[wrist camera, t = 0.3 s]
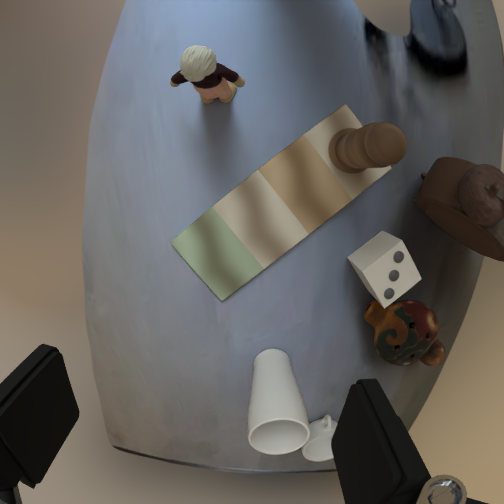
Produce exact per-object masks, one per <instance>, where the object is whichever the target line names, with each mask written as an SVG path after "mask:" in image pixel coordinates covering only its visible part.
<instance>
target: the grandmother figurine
mask: <svg viewBox="0 0 504 504" xmlns="http://www.w3.org/2000/svg"><path fill="white" fill-rule="evenodd" d="M180 68H181V70H180V71H178V72H177V73H176V74H174V75H173V76H172V78H171V81H170V84H171V86H173V87H177V86H178V85H179V84H181V83H184V82H188V81H190V82H191V83H192V84H193V86H194V88H195V89H196V91H197V92H199V94H200V96H201V100H202V102H203V103H205V104H209V103H212V102H213V101H214V98H217V97H219V100H220V101H221V102H224V103H229V102H230V101H231V100H232V98H233V96H234V94H235V92H236V86H237V87H243V86H244V84H245V81H244V79H242V78H241V77H240V76H239V75H238V74H237V73H236V72H234V71H232V70H230V69H228V68H227V67H225V66H224V65H222V64H219V63H217V61H216V55H215V54H214V52H213V51H212V50H211V49H209V48H208V47H206V46H196V45H193V46H190V47H188V48H187V49H186V50H185V52H184V53H183V55H182V56H181V59H180ZM227 80H228V81H230V82H232V83H230V82H227ZM234 84H235V85H236V86H235V85H234Z"/></svg>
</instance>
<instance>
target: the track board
mask: <svg viewBox="0 0 504 504" xmlns="http://www.w3.org/2000/svg"><path fill="white" fill-rule="evenodd" d="M361 127H363V126H362V124H361V123H360V121H359V120H358V119H357V118H356V116H355V115H354V114H353V112H352V111H351V110H350V108H349V107H348V106H347V105H346V104H345V105H344V106H342V107H341V108H339V109H338V110H336V111H335V112H334V113H332V114H331V115H329V116H328V117H327V118H325V119H324V120H323V121H321V122H320V123H318V124H317V125H316V126H314V127H313V128H312V129H310V130H309V131H308V132H306V133H305V134H303V135H302V136H301V137H299V138H298V139H297V140H295V141H294V142H293V143H292V144H290V145H289V146H288V147H286V148H285V149H284V150H282V151H281V152H280V153H278V154H277V155H276V156H275V157H273V158H272V159H271V160H269V161H268V162H267V163H266V164H264V165H263V166H262V167H260V168H259V169H258V170H257V171H255V172H254V173H253V174H252V175H250V176H249V177H248V178H247V179H245V180H244V181H243V182H242V183H240V184H239V185H238V186H237V187H235V188H234V189H233V190H232V191H231V192H229V193H228V194H227V195H226V196H225V197H223V198H222V199H221V200H220V201H218V202H217V203H216V204H215V205H214V206H212V207H211V208H210V209H209V210H208V211H207V212H205V213H204V214H203V215H202V216H201V217H199V218H198V219H197V220H196V221H195V222H194V223H192V224H191V225H190V226H189V227H188V228H187V229H186V230H184V231H183V232H182V233H181V234H180V235H179V236H178V237H176V238H175V239H174V240H173V241H172V242H171V244H172V245H173V247H174V248H175V249H176V250H177V251H178V252H179V254H180V255H181V256H182V257H183V258H184V259H185V260H186V262H187V263H188V264H189V265H190V266H191V267H192V268H193V270H194V271H195V272H196V273H197V274H198V275H199V276H200V278H201V279H202V280H203V281H204V282H205V283H206V284H207V285H208V286H209V288H210V289H211V290H212V291H213V292H214V293H215V294H216V295H217V296H218V298H219V299H220V300H221V301H223V300H224V299H225V298H227V297H228V296H229V295H231V294H232V293H233V292H235V291H236V290H237V289H239V288H240V287H241V286H243V285H244V284H245V283H247V282H248V281H249V280H250V279H252V278H253V277H254V276H256V275H257V274H258V273H260V272H261V271H262V270H264V269H265V268H266V267H267V266H269V265H270V264H271V263H273V262H274V261H275V260H277V259H278V258H279V257H280V256H282V255H283V254H284V253H286V252H287V251H288V250H289V249H291V248H292V247H293V246H295V245H296V244H297V243H298V242H300V241H301V240H302V239H304V238H305V237H306V236H307V235H309V234H310V233H311V232H313V231H314V230H315V229H316V228H318V227H319V226H320V225H321V224H323V223H324V222H325V221H327V220H328V219H329V218H330V217H332V216H333V215H334V214H335V213H337V212H338V211H339V210H340V209H342V208H343V207H344V206H345V205H347V204H348V203H349V202H351V201H352V200H353V199H354V198H356V197H357V196H358V195H359V194H361V193H362V192H363V191H364V190H365V189H367V188H368V187H369V186H370V185H372V184H373V183H374V182H375V181H377V180H378V179H379V178H380V177H382V176H383V175H384V174H385V173H387V172H388V171H389V170H390V169H391V166H388V167H384V168H367V169H366V170H364V171H362V172H360V173H345V172H342V171H341V170H339V169H338V168H336V167H335V165H334V164H333V163H332V161H331V159H330V157H329V151H328V147H329V143H330V140H331V138H332V137H333V136H334V134H336V133H337V132H338V131H340V130H343V129H346V128H355V129H358V128H361Z"/></svg>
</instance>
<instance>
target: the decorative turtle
mask: <svg viewBox="0 0 504 504" xmlns="http://www.w3.org/2000/svg"><path fill="white" fill-rule="evenodd" d="M363 316H364V319H365V320H366V321H367V322H368V323H369V324H371V325H372V326H373V327H374V330H375V333H374V345H375V348H376V351H377V353H378V354H379V355H380V356H381V357H382V358H383V359H384V360H385V361H387V362H389V363H391V364H395V365H399V366H404V365H410V364H412V363H414V362H415V361H417V360H418V359H420V360H421V361H422V362H423V363H424V364H426V365H428V366H438V365H440V364H441V363H442V362H443V361H444V359H445V348H444V346H443V344H442V343H441V342H440V341H439V340H438V339H437V338H436V336H437V334H438V331H439V323H438V319H437V317H436V315H435V313H434V312H433V311H432V310H431V309H430V308H429V307H428V306H427V305H425V304H424V303H421V302H418V301H415V300H402V301H399V302H396V303H393V304H390V305H389V306H387V307H386V308H385V309H384V307H383V306H382V305H381V304H380V303H379V302H378V301H377V300H373V301H371V302H370V303H369V304H368V305H367V306H366V308H365V310H364V312H363Z"/></svg>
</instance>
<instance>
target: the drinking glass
mask: <svg viewBox="0 0 504 504" xmlns="http://www.w3.org/2000/svg"><path fill="white" fill-rule="evenodd" d="M247 425H248V441H249V443H250V445H251V446H252V447H253V448H254V449H256V450H257V451H260V452H262V453H266V454H272V455H279V454H286V453H290V452H293V451H295V450H297V449H299V448H301V447H302V446H303V445H304V444H305V443H306V442H307V441H308V439H309V437H310V430H309V422H308V416H307V412H306V408H305V404H304V401H303V398H302V395H301V392H300V390H299V387H298V384H297V381H296V378H295V375H294V372H293V369H292V366H291V361H290V358H289V356H288V355H287V354H286V353H285V352H283V351H281V350H279V349H267V350H264V351H262V352H260V353H259V354H258V355H257V356H256V358H255V360H254V364H253V378H252V386H251V393H250V400H249V407H248V421H247Z"/></svg>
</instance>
